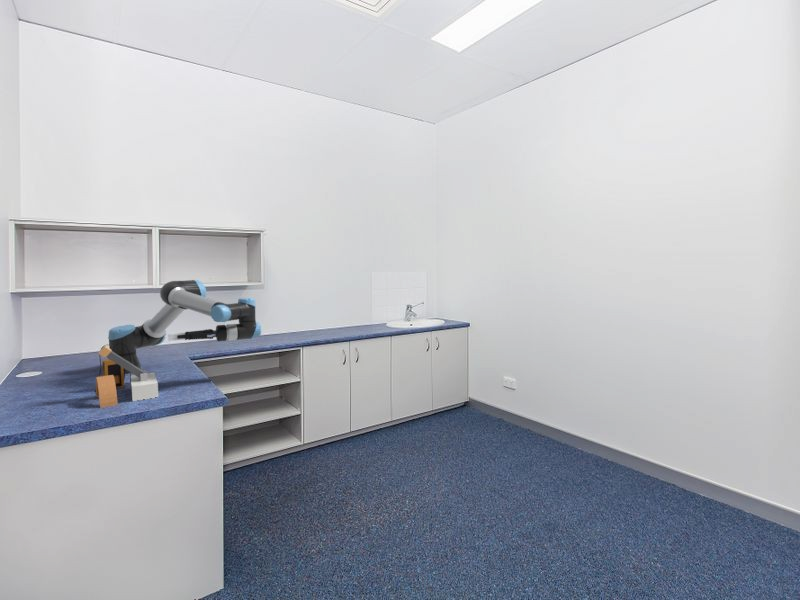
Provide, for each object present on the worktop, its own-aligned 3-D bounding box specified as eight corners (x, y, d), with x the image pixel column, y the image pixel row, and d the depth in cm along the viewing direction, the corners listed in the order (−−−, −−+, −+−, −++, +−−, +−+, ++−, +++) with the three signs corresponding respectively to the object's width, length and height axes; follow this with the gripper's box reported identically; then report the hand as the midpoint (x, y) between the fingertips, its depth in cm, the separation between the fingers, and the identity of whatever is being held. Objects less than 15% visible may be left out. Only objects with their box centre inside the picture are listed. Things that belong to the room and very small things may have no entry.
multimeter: (125, 381, 202) (123, 339, 200) (133, 385, 196) (131, 341, 194) (88, 388, 191) (85, 344, 189) (95, 392, 184) (92, 346, 183)
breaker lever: (142, 378, 184) (98, 351, 175) (148, 372, 185) (104, 345, 176) (143, 381, 180) (98, 353, 171) (148, 374, 181) (104, 347, 172)
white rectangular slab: (131, 388, 190) (130, 368, 189) (155, 385, 194) (153, 366, 194) (132, 401, 171) (131, 379, 170) (158, 397, 176) (157, 375, 175)
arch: (112, 393, 183) (111, 370, 182) (117, 405, 167) (116, 379, 166) (96, 396, 179) (94, 372, 178) (99, 408, 163) (97, 382, 163)
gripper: (229, 342, 194) (170, 348, 181) (223, 338, 205) (167, 343, 192) (228, 326, 193) (169, 330, 180) (223, 323, 204) (166, 326, 191)
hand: (168, 337), depth 186 cm, fingers closed
